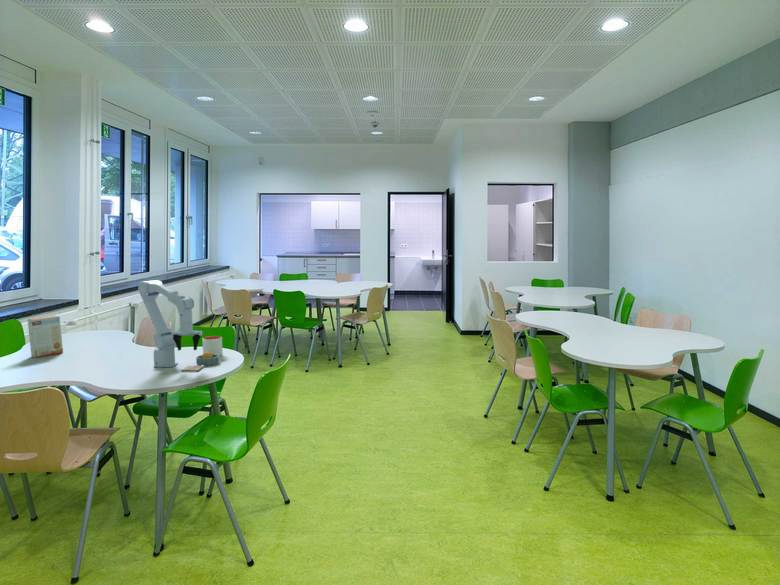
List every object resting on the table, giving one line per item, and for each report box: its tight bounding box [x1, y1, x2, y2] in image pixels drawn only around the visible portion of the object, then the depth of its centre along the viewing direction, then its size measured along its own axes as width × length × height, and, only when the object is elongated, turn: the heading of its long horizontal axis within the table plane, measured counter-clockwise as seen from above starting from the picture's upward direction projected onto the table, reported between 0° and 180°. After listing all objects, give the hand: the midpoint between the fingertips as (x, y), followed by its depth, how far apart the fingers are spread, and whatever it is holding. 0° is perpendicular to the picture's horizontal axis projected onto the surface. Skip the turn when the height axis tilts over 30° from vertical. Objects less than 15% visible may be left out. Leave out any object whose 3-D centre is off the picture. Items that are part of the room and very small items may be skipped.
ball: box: [201, 352, 213, 359], centre depth 271 cm, size 6×6×6 cm
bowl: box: [195, 354, 220, 366], centre depth 271 cm, size 11×11×4 cm
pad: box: [181, 365, 205, 372], centre depth 260 cm, size 8×8×1 cm
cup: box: [201, 335, 223, 357], centre depth 287 cm, size 10×10×10 cm
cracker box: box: [27, 315, 64, 359], centre depth 291 cm, size 14×6×21 cm, turn 146°
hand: (187, 350), depth 260 cm, fingers open, 7 cm apart
